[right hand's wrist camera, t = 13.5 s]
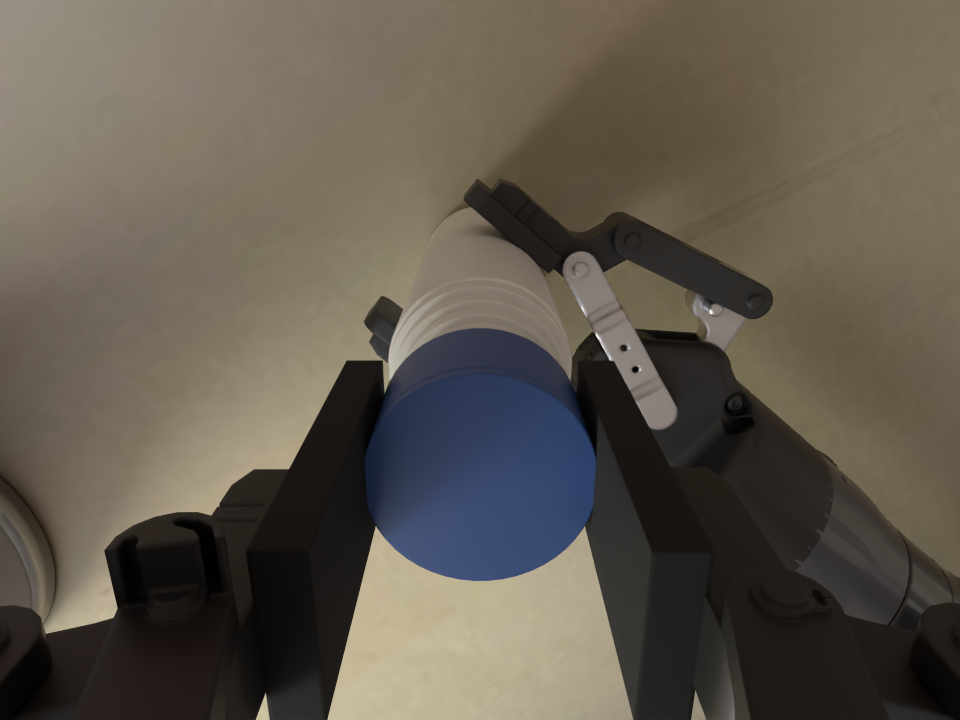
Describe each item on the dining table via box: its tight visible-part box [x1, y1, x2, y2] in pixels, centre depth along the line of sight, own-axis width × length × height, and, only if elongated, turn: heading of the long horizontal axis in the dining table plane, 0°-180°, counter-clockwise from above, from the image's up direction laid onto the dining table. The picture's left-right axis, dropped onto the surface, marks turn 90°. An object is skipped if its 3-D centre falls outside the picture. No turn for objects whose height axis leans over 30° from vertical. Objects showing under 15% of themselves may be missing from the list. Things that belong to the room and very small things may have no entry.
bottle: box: [388, 207, 572, 381], centre depth 21 cm, size 5×5×19 cm
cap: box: [365, 328, 596, 581], centre depth 13 cm, size 4×4×3 cm
